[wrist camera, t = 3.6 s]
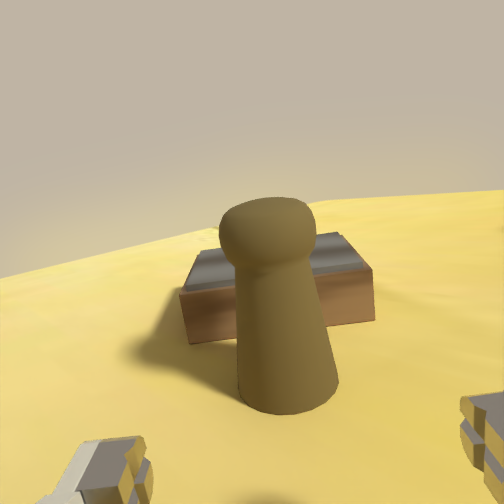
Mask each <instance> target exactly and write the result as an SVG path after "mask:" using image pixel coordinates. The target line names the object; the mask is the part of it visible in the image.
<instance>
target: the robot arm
mask: <svg viewBox="0 0 504 504" xmlns="http://www.w3.org/2000/svg"><path fill="white" fill-rule="evenodd" d="M460 411H461V412H462V414H463V415H464V417H465V419H464V421H463V422H462V423H461V425H460V437H461V441H462V445H463V448H464V451H465V453H466V455H467V457H468V459H469V460H470V462H471V463H472V465H473V466H474V467H475V468H477V469H479V470H480V471H482V472H484V483H485V485H486V486H487V488H488V489H489V491H490V492H491V494H492V495H493V497H494V498H495V500H496V501H497V503H498V504H504V391H500V392H493V393H485V394H477V395H469V396H462V398H461V400H460ZM145 451H146V445H145V442H144V438H143V437H141V436H130V437H120V438H110V439H103V440H93V441H85V442H83V443H82V444H80V446H79V447H78V449H77V451H76V453H75V454H74V456H73V458H72V460H71V461H70V463H69V465H68V467H67V469H66V470H65V472H64V474H63V476H62V477H61V479H60V481H59V483H58V484H57V486H56V488H55V490H54V491H53V493H52V495H45V496H44V497H43V498H42V499H40V500H39V501H38V502H37V503H35V504H149V503H150V500H151V496H152V492H153V470H152V466H151V462H150V461H149V460H147V459H146V458H145V457H144V454H145Z"/></svg>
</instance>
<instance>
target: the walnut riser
mask: <svg viewBox="0 0 504 504" xmlns="http://www.w3.org/2000/svg"><path fill="white" fill-rule="evenodd" d="M309 261H310V265H311V269H312V273H313V277H314V281H315V285H316V289H317V293H318V297H319V301H320V305H321V309H322V313H323V317H324V321H325V325H326V326H333V325H341V324H349V323H356V322H364V321H372V320H375V306H374V290H373V273H372V269H371V267H370V266H369V265H368V264H367V263H366V262H365V261H364V259H363V258H362V257H361V256H360V255H359V254H358V253H357V251H356V250H355V249H354V248H353V247H352V246H351V245H350V243H349V242H348V241H347V240H346V239H345V238H344V237H343V235H340V234H339V233H338V232H333V233H326V234H318V235H317V236H316V242H315V247H314V249H313V251H312V252H311V254H310V256H309ZM179 297H180V302H181V307H182V312H183V316H184V321H185V326H186V330H187V335H188V340H189V344H192V343H200V342H208V341H216V340H223V339H231V338H237V331H236V297H235V267H234V266H233V265H232V264H231V263H230V262H229V261H228V260H227V258H226V256H225V254H224V252H223V250H222V248H217V249H210V250H203V251H201V252H200V254H199V255H197V257H196V259H195V262H194V264H193V266H192V268H191V270H190V272H189V275H188V277H187V279H186V281H185V283H184V286H183V288H182V290H181V292H180V294H179Z"/></svg>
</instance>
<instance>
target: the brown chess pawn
mask: <svg viewBox="0 0 504 504" xmlns="http://www.w3.org/2000/svg"><path fill="white" fill-rule="evenodd" d="M316 236H317V235H316V224H315V219H314V216H313V214H312V211H311V210H310V208H309V207H308V206H307V205H306V204H305V203H304V202H302V201H299V200H297V199H294V198H284V197H271V198H261V199H256V200H252V201H248V202H245V203H242V204H240V205H237V206H235V207H233V208H231V209H229V210H228V211H227V212H226V213H225V214H224V215H223V217H222V220H221V222H220V225H219V240H220V245H221V248H222V250H223V252H224V254H225V256H226V258H227V260H228V261H229V262H230V263H231V264H232V265H233V266H234V267H235V297H236V331H237V365H238V389H239V393H240V396H241V398H242V399H243V400H244V401H245V402H246V403H247V405H248V406H250V407H252V408H254V409H256V410H258V411H260V412H264V413H270V414H275V415H289V414H298V413H302V412H305V411H309V410H312V409H314V408H316V407H318V406H320V405H322V404H324V403H325V402H327V401H328V399H329V398H330V397H331V396H332V395H333V394H334V393H335V391H336V389H337V386H338V384H339V380H338V373H337V369H336V365H335V361H334V357H333V353H332V349H331V345H330V341H329V337H328V333H327V329H326V325H325V321H324V317H323V313H322V309H321V305H320V301H319V297H318V293H317V289H316V285H315V281H314V277H313V273H312V269H311V265H310V261H309V256H310V254H311V252H312V251H313V249H314V247H315V242H316Z"/></svg>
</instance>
